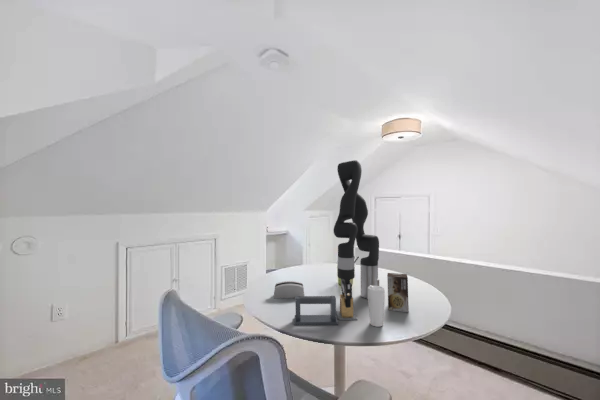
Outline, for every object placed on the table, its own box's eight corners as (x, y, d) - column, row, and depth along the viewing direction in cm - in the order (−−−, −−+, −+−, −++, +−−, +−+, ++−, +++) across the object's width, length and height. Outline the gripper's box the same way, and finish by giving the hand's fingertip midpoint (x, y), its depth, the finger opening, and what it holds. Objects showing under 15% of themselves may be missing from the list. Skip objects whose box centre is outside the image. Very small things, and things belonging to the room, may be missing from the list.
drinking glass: (365, 321, 109) (365, 285, 110) (381, 320, 110) (380, 285, 110) (371, 328, 102) (370, 290, 103) (387, 327, 103) (387, 290, 103)
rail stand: (335, 317, 113) (335, 294, 113) (337, 325, 106) (337, 300, 106) (294, 317, 113) (294, 294, 113) (294, 325, 106) (294, 300, 106)
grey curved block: (304, 294, 143) (304, 279, 140) (304, 300, 138) (305, 284, 135) (274, 295, 142) (273, 279, 139) (273, 300, 137) (273, 285, 134)
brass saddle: (350, 312, 117) (350, 294, 117) (353, 317, 111) (353, 298, 112) (339, 312, 117) (339, 294, 117) (341, 317, 111) (341, 298, 112)
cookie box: (407, 307, 124) (407, 273, 124) (408, 312, 118) (408, 277, 118) (387, 305, 127) (387, 272, 127) (387, 310, 121) (387, 275, 121)
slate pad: (353, 312, 118) (353, 311, 118) (357, 320, 110) (357, 318, 110) (336, 312, 118) (336, 311, 118) (338, 320, 110) (338, 318, 110)
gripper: (357, 270, 108) (358, 309, 107) (351, 263, 122) (351, 297, 121) (340, 271, 108) (340, 310, 107) (335, 263, 122) (335, 297, 121)
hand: (346, 303), depth 114 cm, fingers open, 8 cm apart
